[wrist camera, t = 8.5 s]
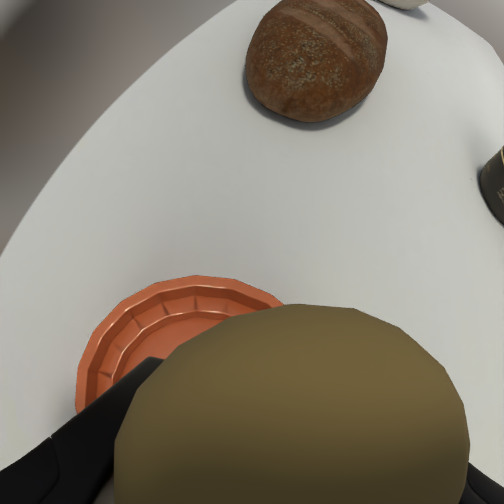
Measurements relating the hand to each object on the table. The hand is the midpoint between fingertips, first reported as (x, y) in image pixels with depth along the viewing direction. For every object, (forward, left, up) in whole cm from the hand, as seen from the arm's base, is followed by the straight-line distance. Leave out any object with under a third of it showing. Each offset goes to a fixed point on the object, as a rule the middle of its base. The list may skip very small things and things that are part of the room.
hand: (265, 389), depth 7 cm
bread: (+38, +15, -13) cm, 43 cm away
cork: (-1, -1, -6) cm, 6 cm away
